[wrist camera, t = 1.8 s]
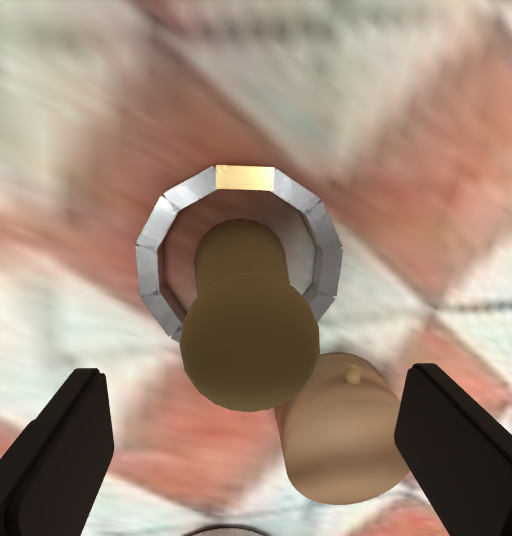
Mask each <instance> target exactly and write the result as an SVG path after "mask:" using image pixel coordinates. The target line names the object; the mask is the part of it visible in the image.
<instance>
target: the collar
mask: <svg viewBox="0 0 512 536" xmlns="http://www.w3.org/2000/svg"><path fill="white" fill-rule="evenodd" d="M217 189H243V190H269V191H271V192H272V193H274V194H275V195H277V196H278V197H280V198H282V199H283V200H285V201H286V202H288V203H289V204H291V205H292V206H294V207H295V208H297V209H298V210H300V212H301V214H302V216H303V218H304V221H305V223H306V225H307V227H308V229H309V231H310V233H311V236H312V238H313V240H314V242H315V244H316V254H315V264H314V273H313V282H312V285H311V286H310V288H309V289H308V290H307V292H306V293H305V294H304V296H303V298H304V299H305V300H306V301H307V302H308V304H309V306H310V307H311V309H312V312H313V314H314V317H315V319H316V321H317V322H318V321H319V320H320V318H321V317H322V316H323V314H324V313H325V312H326V310H327V309H328V308H329V306H330V305H331V304H332V302H333V301H334V300H335V298H334V297H333V296H337V288H338V281H339V274H340V267H341V260H342V252H343V250H342V249H341V247H342V244H341V242H340V240H339V238H338V235H337V233H336V231H335V228H334V226H333V224H332V221H331V219H330V217H329V215H328V212H327V210H326V208H325V205H324V203H323V201H321V200H320V198H319V197H317V196H316V195H314V194H313V193H311V192H310V191H309V190H307V189H306V188H304V187H303V186H301V185H300V184H298V183H297V182H295V181H294V180H292V179H291V178H289V177H288V176H287V175H285V174H284V173H282V172H281V171H279V170H278V169H276V168H274V167H260V166H237V165H216V169H215V167H214V166H211V167H209V168H208V169H206V170H204V171H202V172H200V173H199V174H197V175H195V176H193V177H192V178H190V179H188V180H186V181H184V182H183V183H181V184H179V185H177V186H175V187H174V188H172V189H170V190H168V191H167V192H165V193H164V195H162V196H160V198H159V200H158V202H157V204H156V206H155V208H154V210H153V211H152V213H151V215H150V217H149V219H148V221H147V223H146V225H145V226H144V228H143V230H142V232H141V234H140V236H139V238H138V240H137V241H136V243H137V245H136V246H135V250H136V262H137V273H138V285H139V295H142V297H141V300H142V301H143V302H144V304H145V305H146V306H147V308H148V309H149V310H150V312H151V313H152V315H153V316H154V317H155V319H156V320H157V321H158V323H159V324H160V325H161V327H162V328H163V329H164V331H165V332H166V334H167V335H168V336H170V335H172V337H171V339H173V340H175V341H178V342H180V339H181V333H182V326H183V322H184V319H185V316H186V315H187V314H186V313H185V312H184V310H183V309H182V307H181V306H180V304H179V303H178V301H177V300H176V299H175V297H174V296H173V294H172V293H171V291H170V290H169V288H168V287H167V286H166V284H165V283H164V266H163V249H162V243H163V241H164V239H165V237H166V235H167V234H168V232H169V230H170V228H171V226H172V225H173V223H174V221H175V219H176V217H177V216H178V214H179V212H180V210H181V209H183V208H184V207H186V206H188V205H190V204H192V203H193V202H195V201H197V200H199V199H201V198H202V197H204V196H206V195H208V194H210V193H211V192H213V191H215V190H217Z"/></svg>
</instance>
